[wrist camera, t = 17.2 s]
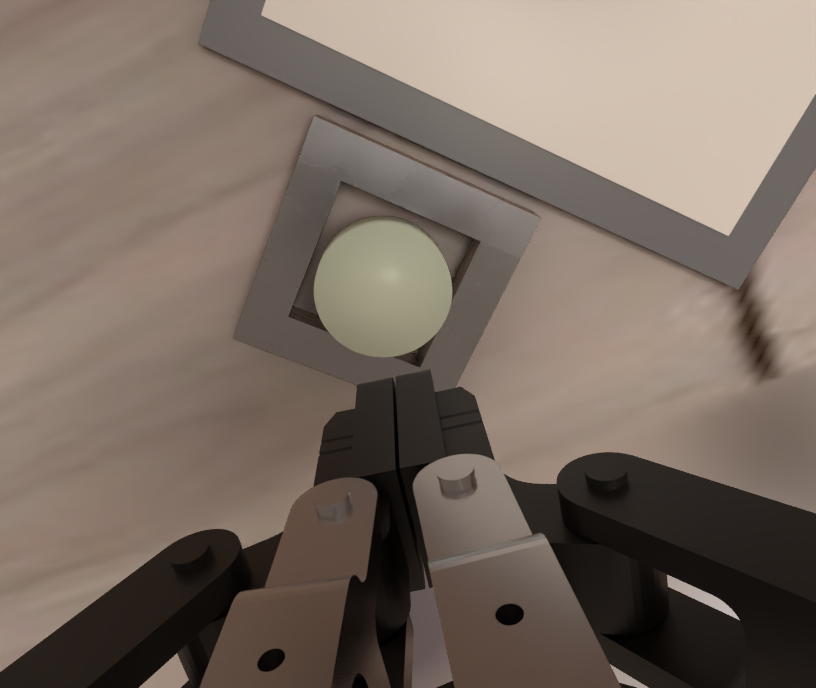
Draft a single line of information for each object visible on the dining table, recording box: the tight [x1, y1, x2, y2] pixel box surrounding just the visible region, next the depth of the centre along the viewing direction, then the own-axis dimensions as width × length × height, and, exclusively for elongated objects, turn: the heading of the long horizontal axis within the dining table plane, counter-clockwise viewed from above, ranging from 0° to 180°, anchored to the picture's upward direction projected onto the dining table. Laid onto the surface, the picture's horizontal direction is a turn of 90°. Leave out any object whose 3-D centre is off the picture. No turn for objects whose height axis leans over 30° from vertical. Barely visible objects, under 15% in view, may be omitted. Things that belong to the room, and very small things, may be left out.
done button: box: [314, 216, 452, 357], centre depth 21 cm, size 4×4×1 cm
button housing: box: [233, 114, 541, 392], centre depth 23 cm, size 8×8×1 cm
